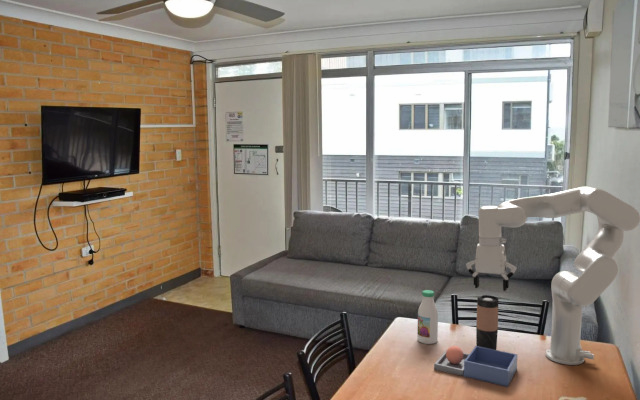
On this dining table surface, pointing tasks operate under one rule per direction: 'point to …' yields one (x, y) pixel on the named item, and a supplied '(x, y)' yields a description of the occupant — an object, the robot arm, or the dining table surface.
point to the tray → (450, 365)
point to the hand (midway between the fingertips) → (491, 288)
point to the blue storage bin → (490, 366)
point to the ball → (454, 354)
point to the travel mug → (487, 322)
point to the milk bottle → (427, 319)
